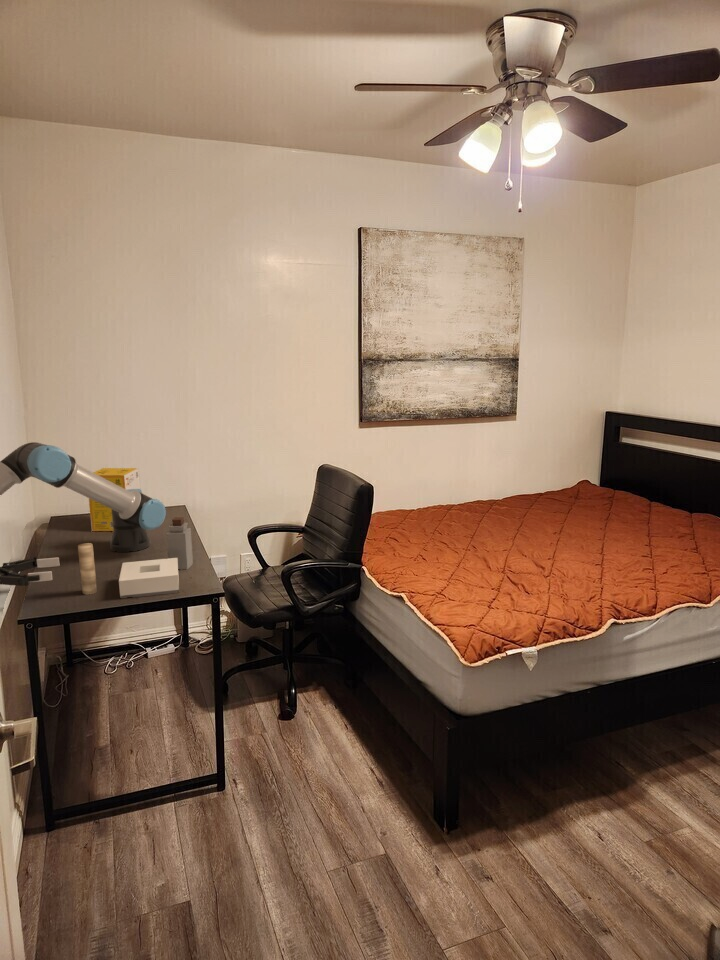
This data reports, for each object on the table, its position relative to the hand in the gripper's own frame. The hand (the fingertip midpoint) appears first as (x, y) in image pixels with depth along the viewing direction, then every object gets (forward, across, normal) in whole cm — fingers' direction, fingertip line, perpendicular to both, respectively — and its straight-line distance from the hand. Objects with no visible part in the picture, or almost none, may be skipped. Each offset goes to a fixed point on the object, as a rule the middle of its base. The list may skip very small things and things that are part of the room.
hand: (55, 568), depth 203 cm
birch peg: (+9, 0, -9) cm, 13 cm away
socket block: (+28, 0, -9) cm, 30 cm away
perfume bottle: (+38, -17, -9) cm, 43 cm away
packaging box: (+12, -79, -9) cm, 81 cm away
